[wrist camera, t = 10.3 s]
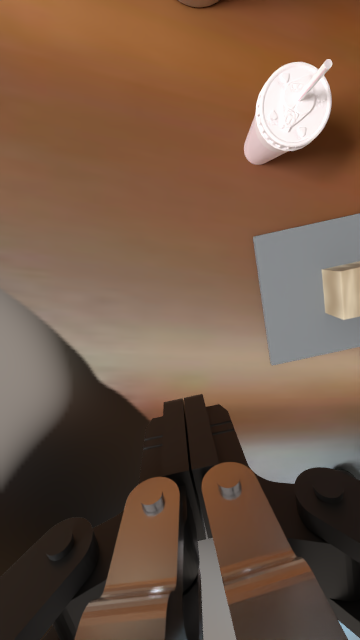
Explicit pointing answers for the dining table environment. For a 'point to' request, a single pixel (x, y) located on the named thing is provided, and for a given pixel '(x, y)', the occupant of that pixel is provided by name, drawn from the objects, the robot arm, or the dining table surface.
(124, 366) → the dining table surface
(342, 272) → the birch block
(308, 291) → the mat
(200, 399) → the robot arm
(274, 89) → the smoothie
